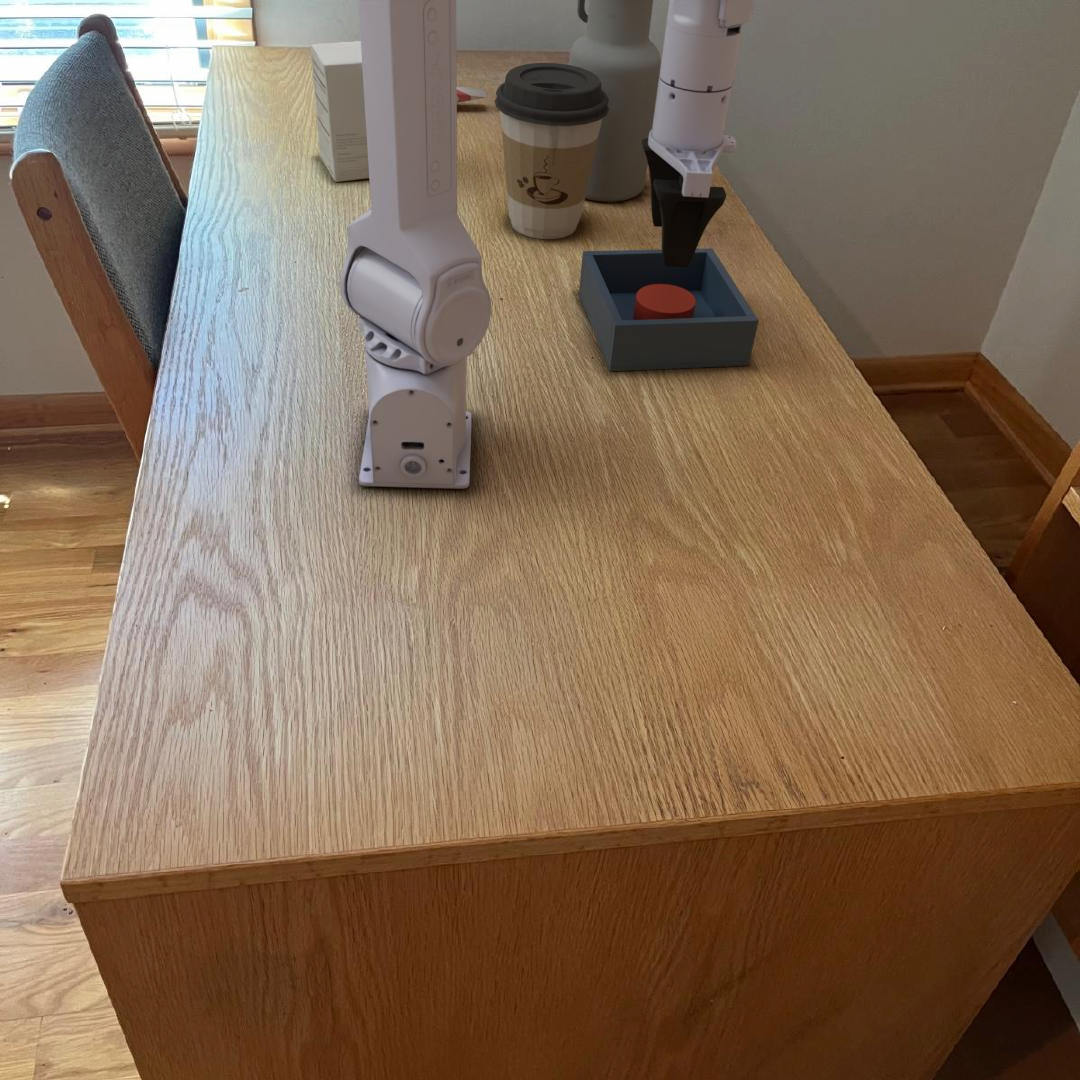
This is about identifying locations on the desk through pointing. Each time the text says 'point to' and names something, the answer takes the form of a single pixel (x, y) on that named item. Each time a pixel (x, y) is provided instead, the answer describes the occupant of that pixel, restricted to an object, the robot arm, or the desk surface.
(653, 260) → the bin
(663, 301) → the red cylinder
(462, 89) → the paintbrush
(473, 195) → the desk surface
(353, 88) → the white packaging box
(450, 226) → the robot arm
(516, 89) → the coffee cup
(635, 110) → the water bottle
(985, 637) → the desk surface
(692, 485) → the desk surface
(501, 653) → the desk surface
